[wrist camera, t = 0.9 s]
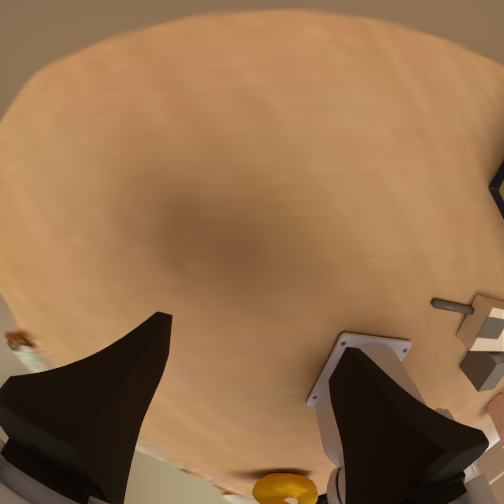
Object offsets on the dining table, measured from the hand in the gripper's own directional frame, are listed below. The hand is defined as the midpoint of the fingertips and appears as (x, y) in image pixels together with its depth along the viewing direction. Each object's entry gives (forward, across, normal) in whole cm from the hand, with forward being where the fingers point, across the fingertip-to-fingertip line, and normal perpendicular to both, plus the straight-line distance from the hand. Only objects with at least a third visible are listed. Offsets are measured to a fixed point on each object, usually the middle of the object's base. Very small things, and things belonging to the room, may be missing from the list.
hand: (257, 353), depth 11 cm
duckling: (+10, -12, +32) cm, 36 cm away
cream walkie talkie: (+10, -24, +1) cm, 26 cm away
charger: (+10, -30, +6) cm, 32 cm away
